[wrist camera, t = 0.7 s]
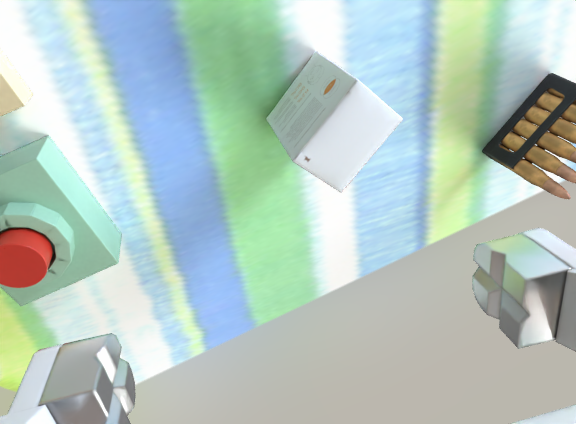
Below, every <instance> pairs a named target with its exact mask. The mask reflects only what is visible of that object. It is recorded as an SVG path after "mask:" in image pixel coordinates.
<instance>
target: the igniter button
mask: <svg viewBox="0 0 576 424" xmlns="http://www.w3.org/2000/svg"><path fill="white" fill-rule="evenodd" d="M52 254H53V250H52V246H51V244H50V242H49V241H48V239H47V238H46V237H45V236H43V235H42V234H40V233H39V232H37V231H34V230H31V229H27V228H13V229H9V230H6V231H4V232H2V233H1V234H0V284H2V285H4V286H7V287H12V288H25V287H29V286H33V285H35V284H37V283H38V282H40V281H41V280H42V279H43V278H44V277H45V275H46V273H47V270H48V267H49V264H50V261H51V258H52Z"/></svg>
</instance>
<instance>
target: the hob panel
mask: <svg viewBox="0 0 576 424" xmlns="http://www.w3.org/2000/svg"><path fill="white" fill-rule="evenodd" d="M32 95H33V93H32V92H31V91H30V89H29V88H28V86H27V85H26V84H25V82H24V81H23V79H22V78H21V77H20V75H19V74H18V72H17V71H16V70H15V68H14V67H13V65H12V64H11V63H10V61H9V60H8V58H7V57H6V56H5V54H4V53H3V52H2V50H1V49H0V116H2V115H5V114H7V113H9V112H12V111H14V110H16V109H18V108H21V107H23V106H25V105H26V103H27V102H28V101H29V99H30V98H31V97H32Z"/></svg>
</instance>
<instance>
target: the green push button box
mask: <svg viewBox="0 0 576 424" xmlns="http://www.w3.org/2000/svg"><path fill="white" fill-rule="evenodd" d="M13 228H27V229H31V230H34V231H37V232H39V233H40V234H42V235H43V236H45V237H46V238H47V239H48V241H49V242H50V244H51V246H52V250H53V254H52V258H51V261H50V264H49V267H48V270H47V273H46V275H45V277H44V278H43V279H42V280H41V281H40V282H38V283H37V284H35V285H33V286H29V287H25V288H12V287H7V286H4V285H2V284H0V287H1V288H2V289H3V290H4V291H5V292H6V293H7V294H9V295H10V296H11V297H12V298H13V299H14V300H15V301H16V302H17V303H18V304H19V305H20V306H23V305H26V304H28V303H30V302H32V301H35V300H37V299H39V298H41V297H44V296H46V295H48V294H50V293H53V292H55V291H57V290H59V289H61V288H64V287H66V286H68V285H70V284H73V283H75V282H77V281H79V280H82V279H84V278H86V277H88V276H91V275H93V274H95V273H97V272H100V271H102V270H104V269H106V268H109V267H111V266H113V265H115V264H118V262H119V254H120V245H121V236H122V234H121V232H120V231H119V230H118V228H117V227H116V226H115V224H114V223H113V222H112V220H111V219H110V217H109V216H108V215H107V213H106V212H105V211H104V209H103V208H102V207H101V205H100V204H99V203H98V201H97V200H96V199H95V197H94V196H93V194H92V193H91V192H90V190H89V189H88V188H87V186H86V185H85V184H84V182H83V181H82V180H81V178H80V177H79V176H78V174H77V173H76V171H75V170H74V169H73V167H72V166H71V165H70V163H69V162H68V161H67V159H66V158H65V157H64V155H63V154H62V153H61V151H60V150H59V148H58V147H57V146H56V144H55V143H54V142H53V140H52V139H51V138H50V136H46V137H44V138H42V139H39V140H37V141H35V142H32V143H30V144H28V145H26V146H23V147H21V148H19V149H17V150H14V151H12V152H10V153H7V154H5V155H3V156H1V157H0V234H1V233H2V232H4V231H6V230H9V229H13Z"/></svg>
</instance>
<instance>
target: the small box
mask: <svg viewBox="0 0 576 424" xmlns="http://www.w3.org/2000/svg"><path fill="white" fill-rule="evenodd" d="M266 120H267V121H268V123H269V125H270V126H271V128H272V129H273V131H274V132H275V134H276V135H277V137H278V139H279V140H280V142H281V144H282V145H283V147H284V149H285V150H286V152H287V154H288V155H289V157H290V158H291V160H292V161H293V162H294V163H296V164H297V165H299V166H301V167H302V168H304V169H305V170H307V171H308V172H310V173H311V174H313V175H315V176H316V177H318V178H319V179H321V180H322V181H324V182H325V183H327V184H328V185H330V186H331V187H333V188H334V189H336V190H338V191H339V192H343V190H344V189H345V188H346V187H347V185H348V184H349V183H350V182H351V181H352V180H353V178H354V177H355V176H356V175H357V174H358V172H359V171H360V170H361V169H362V168H363V166H364V165H365V164H366V163H367V162H368V160H369V159H370V158H371V157H372V156H373V155H374V153H375V152H376V151H377V150H378V149H379V147H380V146H381V145H382V144H383V143H384V141H385V140H386V139H387V138H388V137H389V135H390V134H391V133H392V132H393V131H394V130H395V128H396V127H397V126H398V125H399V124H400V123H401V121H402V120H403V119H402V117H400V116H399V115H398V114H397V113H396V112H395V111H394V110H393V109H391V108H390V107H389V106H388V105H387V104H386V103H385V102H384V101H382V100H381V99H380V98H379V97H378V96H377V95H376V94H374V93H373V92H372V91H371V90H370V89H369V88H367V87H366V86H365V85H364V84H363V83H362V82H360V81H359V80H358V79H357V78H355V77H354V76H352V75H351V74H349V73H348V72H346V71H345V70H343V69H342V68H340V67H339V66H338V65H336V64H335V63H333V62H332V61H330V60H329V59H327V58H326V57H324V56H323V55H321V54H320V53H319V52H317V51H316V52H315V53H314V54H313V56H312V57H311V59H310V60H309V61H308V63H307V64H306V65H305V67H304V68H303V69H302V71H301V72H300V73H299V75H298V76H297V78H296V79H295V80H294V82H293V83H292V84H291V86H290V87H289V88H288V90H287V91H286V92H285V94H284V95H283V97H282V98H281V99H280V101H279V102H278V103H277V105H276V106H275V107H274V109H273V110H272V111H271V113H270V114H269V115H268V117H267V118H266Z"/></svg>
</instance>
